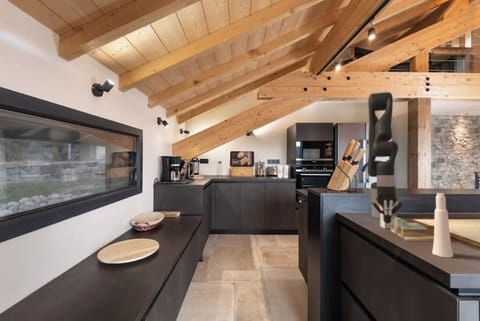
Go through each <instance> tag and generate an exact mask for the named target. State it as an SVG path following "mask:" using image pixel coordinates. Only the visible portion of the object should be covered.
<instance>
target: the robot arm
mask: <svg viewBox="0 0 480 321" xmlns="http://www.w3.org/2000/svg"><path fill="white" fill-rule="evenodd" d="M393 102H394V101H393V94H392V92H388V91H386V92H376V93H371V94H369V96H368V102H367V103H368V123H369V125H368V158H367V175H368V177H372V178H376V181H374V182H372V183H371V184H370V194H371V196H370V198H371V200H370V201H371V217H372V218H376V219H380V213H381V214H383V221H384V222H385V223H390V222H391V215H392V214H395V213H396V214H397V212H398V211H399V210H400V209H401V207H402V206H403V202H400V201H399V200H398V198H397V189H396V185H397V183H396V176H395V162H396V158H397V155H398V151H399V144H398V143H397V142H396V141H395V140H392V139H393V129H392V119H393V106H394V105H393ZM382 111H384V113H383V114H382V115H381V116H380V118H378V117H377V114H376V112H382ZM386 157H388V159H387V160H385V161H383V160H382V161H376V159H377V158H386ZM379 204H380V206H381V207H382V210H381V209H380V206H379ZM394 204H395V206H394V208H393V209H392V207H393V205H394Z"/></svg>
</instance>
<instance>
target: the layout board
mask: <svg viewBox="0 0 480 321" xmlns="http://www.w3.org/2000/svg"><path fill="white" fill-rule="evenodd" d="M420 225H421V226H424V227H426V228H427V230H403V229H401V228H399V227H398V226H396V225H394V228H390V229H389V230H390V231H391V232H392V233H394V234H395V235H397V236H399V237H400V238H402V239H403V240H404V241H406V242H434V225H432V224H431V225H427V224H426V225H422V224H420ZM450 241H451V242H452V239H451V238H450Z"/></svg>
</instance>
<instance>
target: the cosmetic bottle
mask: <svg viewBox="0 0 480 321" xmlns="http://www.w3.org/2000/svg"><path fill="white" fill-rule="evenodd" d="M446 201H447V200H446V196H445V193H441V192H437V193H436V196H435V209H434V223H433V224H434V225H433V226H434V241H433V245H432V246H433V247H432V251H431V253H432V254H433V255H435V256H436V255H437V257H440V258H452V257H454V252H453V248H452V243H451V242H452V240H451V241H450V239H451V234H450V233H451V232H450V223H449V212H448V210H447V203H446Z"/></svg>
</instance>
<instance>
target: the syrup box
mask: <svg viewBox="0 0 480 321" xmlns="http://www.w3.org/2000/svg"><path fill="white" fill-rule="evenodd" d="M379 206H380V204H379ZM394 206H395V204H394V205H393V207H392V209H393V208H394ZM380 209H381V210H382V207H381V206H380ZM395 217H397V212H396V213H395V214H392V215H391V222H390V223H385V222H384V221H383V214H381V213H380V218H379V226H380V228H383V229H384V230H390V228H394V223H395Z"/></svg>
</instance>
